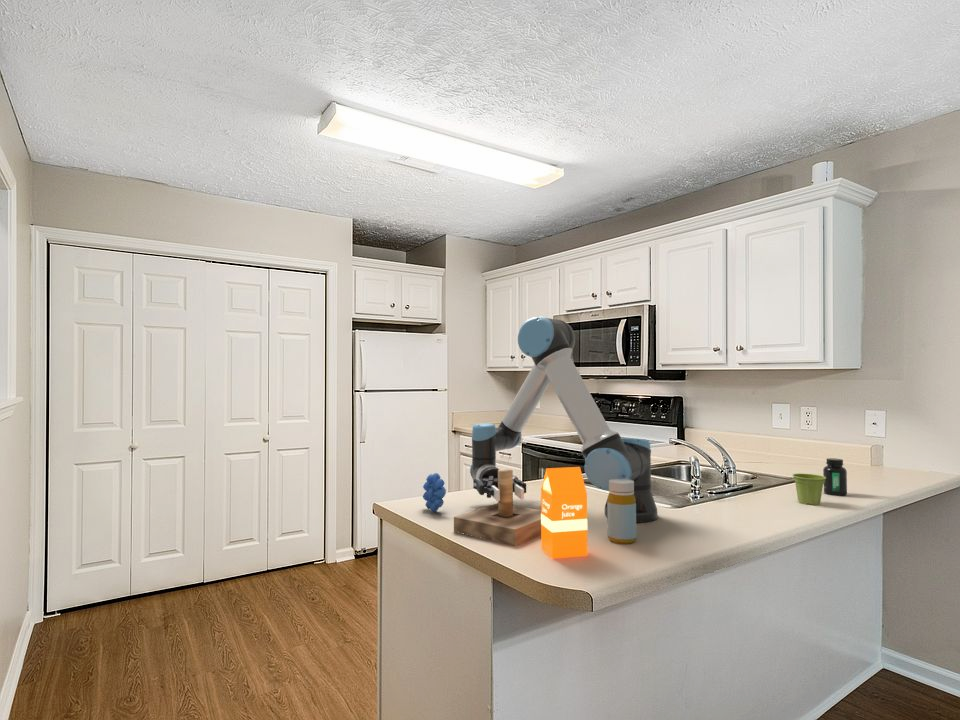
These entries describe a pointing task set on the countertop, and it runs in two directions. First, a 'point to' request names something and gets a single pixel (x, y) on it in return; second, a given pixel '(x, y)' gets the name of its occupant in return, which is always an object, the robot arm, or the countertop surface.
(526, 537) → the walnut board
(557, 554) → the orange juice
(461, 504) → the countertop surface
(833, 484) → the supplement bottle
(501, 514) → the oak leg
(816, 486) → the plant pot
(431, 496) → the grapes
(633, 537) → the bottle
